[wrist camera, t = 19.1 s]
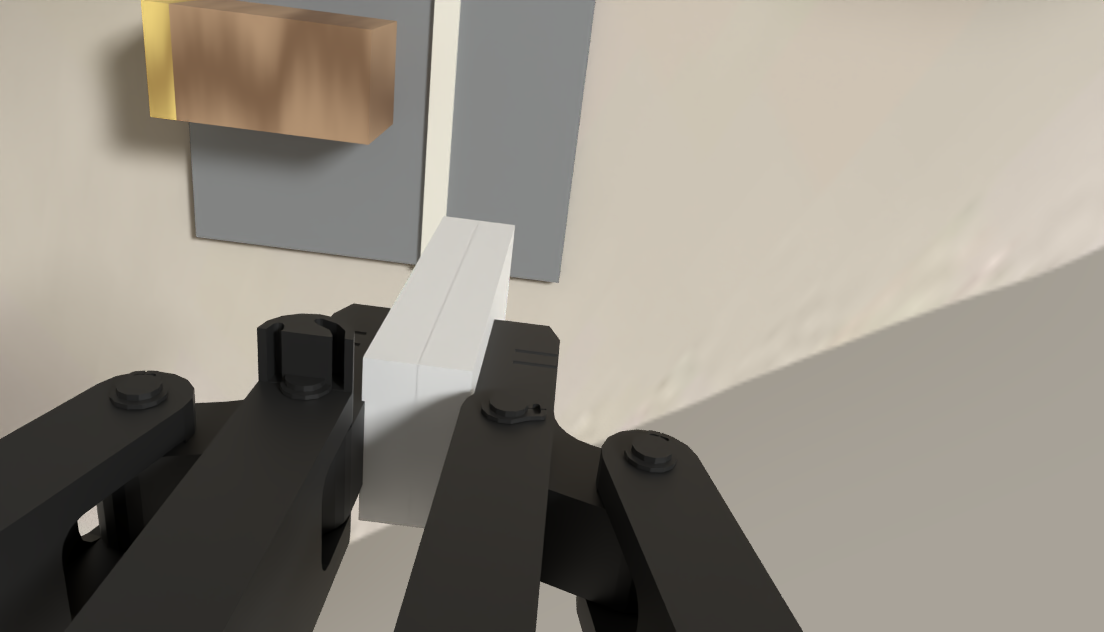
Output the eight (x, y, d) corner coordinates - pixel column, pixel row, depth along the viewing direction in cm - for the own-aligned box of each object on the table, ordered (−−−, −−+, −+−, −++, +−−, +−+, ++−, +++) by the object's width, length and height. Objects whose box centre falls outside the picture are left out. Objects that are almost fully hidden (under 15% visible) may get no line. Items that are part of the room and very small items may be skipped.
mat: (176, -183, 38) (166, -186, 37) (611, -127, 38) (611, -128, 37) (200, 233, 46) (193, 238, 45) (559, 279, 46) (558, 285, 45)
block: (396, 21, 40) (192, -6, 40) (371, 29, 35) (140, -1, 35) (393, 124, 42) (198, 98, 42) (368, 144, 38) (150, 116, 37)
